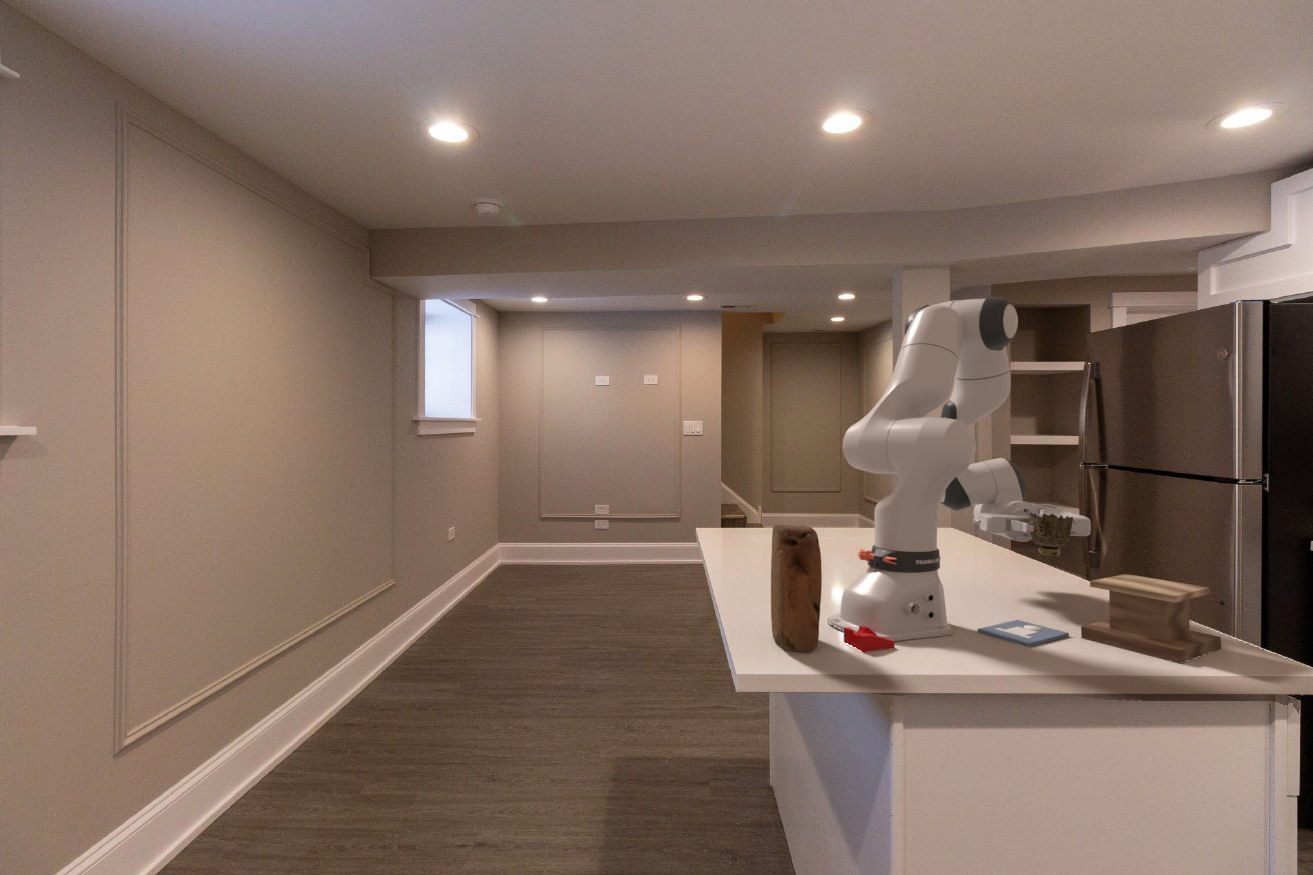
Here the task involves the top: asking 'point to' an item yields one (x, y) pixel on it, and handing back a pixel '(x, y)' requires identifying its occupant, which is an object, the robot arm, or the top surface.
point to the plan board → (1023, 633)
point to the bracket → (866, 639)
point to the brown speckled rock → (795, 587)
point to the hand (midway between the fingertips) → (1052, 528)
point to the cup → (1050, 532)
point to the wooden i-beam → (1151, 618)
